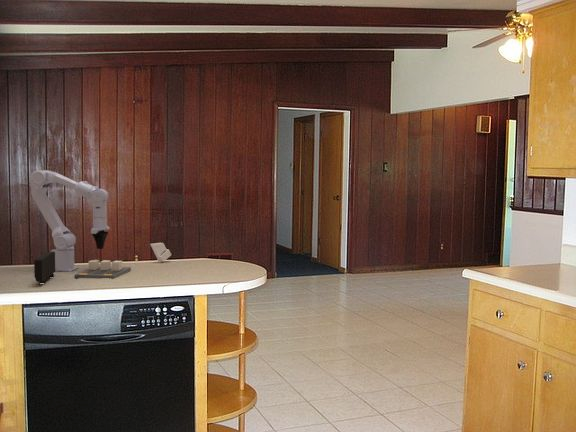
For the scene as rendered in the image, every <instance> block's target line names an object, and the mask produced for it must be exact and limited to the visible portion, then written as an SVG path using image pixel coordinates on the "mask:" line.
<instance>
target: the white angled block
mask: <svg viewBox="0 0 576 432" xmlns="http://www.w3.org/2000/svg"><path fill="white" fill-rule="evenodd" d="M149 244H150V247H151V249H152V250H153V253H154V256H155V258H156V259H157V261H158V262H162V263H164V262H165V261H166V260H168V259H169V258H170V257H171V256H172V253H171V251H170V249H167V247H166V245H165V243H164V242H155V243H149Z"/></svg>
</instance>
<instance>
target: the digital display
mask: <svg viewBox="0 0 576 432" xmlns="http://www.w3.org/2000/svg"><path fill="white" fill-rule="evenodd" d="M33 265H34V268H33V269H34V271H33V272H34V274H33V275H34V278H35V281H36V282H38V284H39V283H45V284H46V280H47V279H49V278H48V277H53V278H54V277H55V275H54V273H56V271H55V252H51V251H46V252H45V253H43V254H42V255H40V256H38V257H36V258H34V261H33Z"/></svg>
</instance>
